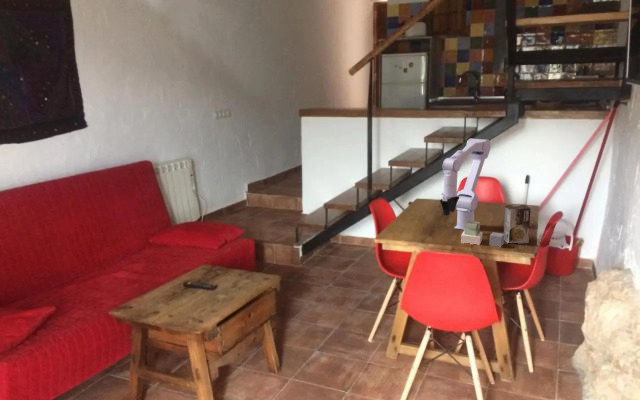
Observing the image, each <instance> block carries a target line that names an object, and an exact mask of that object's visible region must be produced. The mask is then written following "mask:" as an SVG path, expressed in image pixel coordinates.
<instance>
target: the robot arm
mask: <svg viewBox="0 0 640 400" xmlns="http://www.w3.org/2000/svg"><path fill="white" fill-rule="evenodd" d="M491 147H492V146H491V141H490V140H489V139H483V138H482V139H481V138H472V137H471V138H469V139H468V140H466V145H465V146H464V148H462V149H460V150H459V149H458V150H457V151H456V152H454V154H453V155H451V156H450V157H446V158H445V159H444V160H443V161H442V166H441V167H442V170H443V171H442V172H443V175H444V180H443V181H444V182H443V192H441V193H440V195H441V196H442V199H439V203H440V205H441V207H442V212H443V216H450V213H451V212H452V213H454V212H455V210H457V216H456V217H457V218H456V225H455V226H454V227H453V229H456V230H463V231H464V230H465V223H466V222H468V221H474V222H475V210H476V209H477V207H478V201H479V196H478V195H477V194H476V192H475V191H476V188H477V185H478V181H479V179H480V176H481V172H482V169H483V166H484V163H485V161H486V159H488V157H489V154H490V151H491ZM468 156H470V158H472V164H471V166H470V169H469V172H468V175H467V178H466V180H465V181H466V182H465V184H464V187H463V188H462V189H461V190H459V191H457V189H458V172H459V171H460V169H461V167H462V165H463V163H465V162H466V161H467V159H468Z"/></svg>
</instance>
